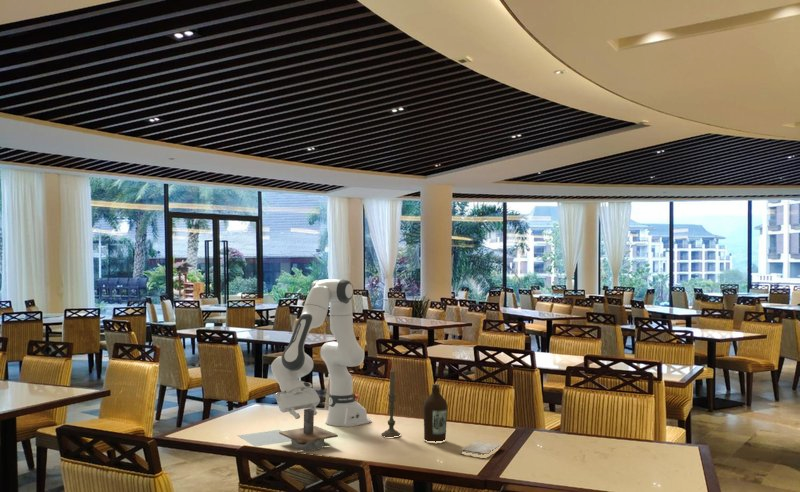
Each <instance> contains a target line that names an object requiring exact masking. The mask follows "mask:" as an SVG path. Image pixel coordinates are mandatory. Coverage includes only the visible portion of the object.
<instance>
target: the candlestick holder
mask: <svg viewBox="0 0 800 492" xmlns="http://www.w3.org/2000/svg"><path fill="white" fill-rule="evenodd" d="M389 373H390V374H389V393H388V394H387V396H388V402H389V403H390V404H389V419H388V420H387V424H388V428H387V429H386V430H385V431H383V432H382V433H381V435H382V436H385V437H394V436H399V435H400V434H401V433H400V432H399V431H397V430H395V428H394V426H395V425H396V420H395V419H394V410H395V404H394V403H395V402H396V397H397V394H396V393H395V391H396V390H395V389H396V386H395V385H396V383H395V382H396V380H395V379H396V378H395V377H396V371H395V370H394V369H393V368H392V370H390V372H389ZM381 435H380V436H381ZM382 436H381V437H382ZM385 437H384V438H385Z"/></svg>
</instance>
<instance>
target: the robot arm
mask: <svg viewBox="0 0 800 492" xmlns="http://www.w3.org/2000/svg"><path fill="white" fill-rule="evenodd" d="M308 288H309V289H308V291H309V292H308V294H307V296H306V299H305V302H304V304H303V308H302V311H301V315H300V316H299V318H298V320H297V322H296V325H295V328H294V330H293V333H292V335H291V338H290V341H289V343H288V344H287V346H286V347H285V349H284V350H283V352H282V355H281V356H280V355H279V356H278V357H276V358H275V359H274V360H273V361H272V362H271V365H270V369H271V373H272V376H273V378H274V380H275V381H276V383H278V385H279V389H280V391H278V392H276V393H275V394H274V397H275V400H276V404H277V405H278V409H279V411H280V412H282V413H284V414H285V413H289V414H290V415H291V416H292V417H294V419H295V420H297V419H300V418H301V415H300V413H299V412H296V411H298V410H304V409H313V410H314V416H317V414H318V412H317V406H318V405H319V403H321V398H320V396H319V394H318V393H317V391H316V390H315V389H314V388H312V387H313V385H312V383H311V382H306V381H303V380H300V379H302V378H303V377H305V376H308V375H309V374H310V373H311V372H312V371H313V369H314V366H315V365H314V364H315V363H314V360H313V359H314V358H312V357H311V356H310V355H309V354H307V353H306V352H305V350H304V346H305V344H306V340H307V337H308V335H309V332H310V331H311V330H312V329H317V328H319V327H321V326H323V325H324V323H325V320H326V317H327V316H328V311H329V325H330V326H329V330H330V333H331V334H332V335H333V337H334V338H335V339H336V341H327V342H325V343H324V344H323V345H322V346H321V348H320V351H319V352H320V358H321V359H322V361H323V362H324V363H325V366H326V368H327V372H328V376H329V394H328V412H327V416H326V421H325V423H326V425H329V426H334V427H346V428H347V427H348V428H350V427H356V426H359V425H360V426H361V425H365V424H368V423H369V422H370V423H372V419H371V418H369V417H368V414H367V409H366V408H365V407H364V406H363V405H362V404H360V403H359V402H358V401H357V400H358V399H359V398H360V395H359V394H357V393H353V391H354V390H353V389H354V388H353V387H354V386H353V381H354V380H353V376H352V375H351V373H350V372H349V371H348V367H351V368H353V367H358V366H360V365H362V363H363V362H364V360H365V351H364V348H362V346H361V345H360V344H359V342H358V340H357V337H356V336H355V331H354V330H355V329H354V322H353V316H354V315H353V304H352V298H353V296H354V287H353V284H352V283H351V281H350V280H347V279H344V278H343V279H339V278H338V279H337V278H328V279H327V278H326V279H325V278H324V279H316V280H313V281H312V282H311V283H310V285H309V287H308Z"/></svg>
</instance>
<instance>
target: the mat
mask: <svg viewBox="0 0 800 492" xmlns="http://www.w3.org/2000/svg"><path fill="white" fill-rule="evenodd" d="M281 431H282V430H281V429H276V430H268V431H262V432H253V433H247V434H239V435H237V437H238V438H240V439H242V440H243V441H244V442H247V443H249V444H250V445H252V446H254V447H261V446H268V445H274V444H280V443H287V442H291V439H290V438H288V437H285V436H283V435H281V434H279V432H281Z"/></svg>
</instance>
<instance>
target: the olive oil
mask: <svg viewBox="0 0 800 492" xmlns="http://www.w3.org/2000/svg"><path fill="white" fill-rule="evenodd" d="M431 386H432V387H431V394H430V395H429V396H427V398H425V400H424V403H423V436H424V437H423V439H425V440H427V441H435V442H436V441H443V440H445V439H446V438H447V437H446V436H447V421H448V420H447V419H448V403H447V401H446V399H445V397H443V395H441V393H440V391H441V390H440V384H438V383H433V384H432V385H431ZM446 440H447V439H446Z"/></svg>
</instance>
